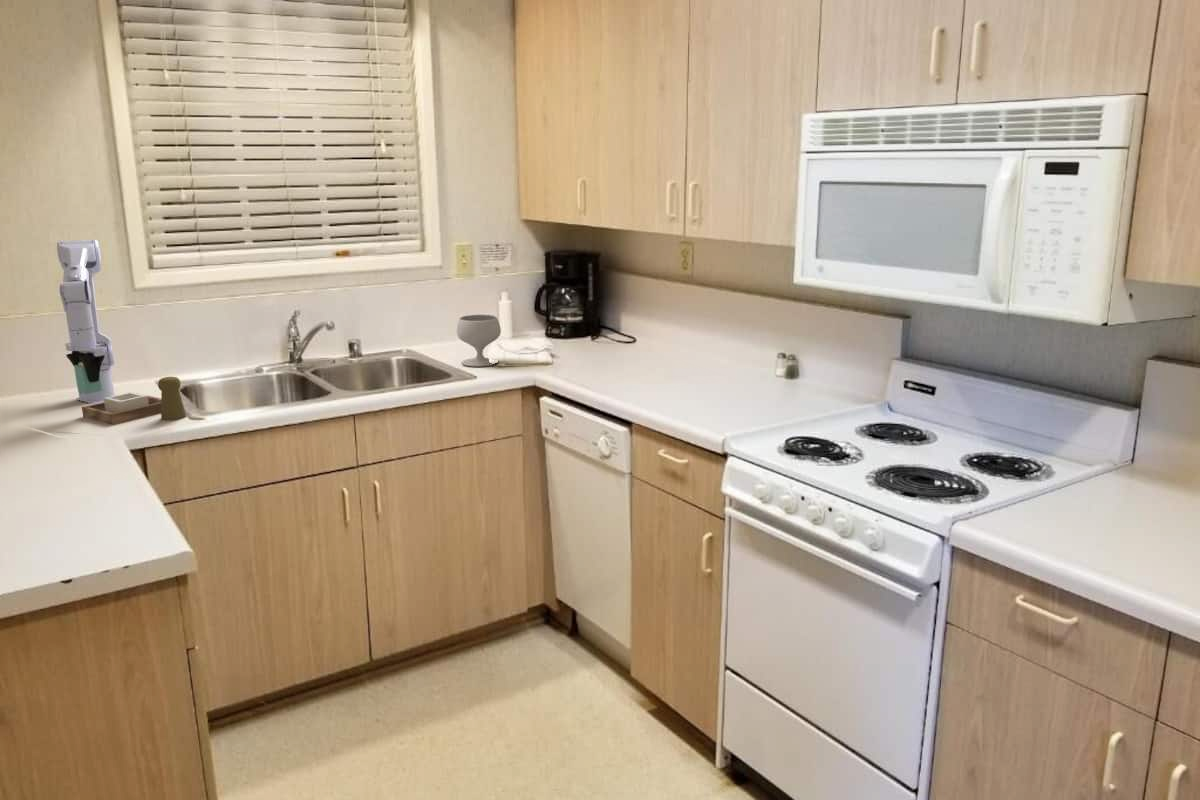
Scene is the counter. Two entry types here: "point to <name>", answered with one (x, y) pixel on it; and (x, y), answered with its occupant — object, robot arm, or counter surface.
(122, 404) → the frame
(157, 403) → the parts box
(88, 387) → the plug
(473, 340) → the chalice
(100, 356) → the robot arm
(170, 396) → the olive pepper mill
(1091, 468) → the counter surface
